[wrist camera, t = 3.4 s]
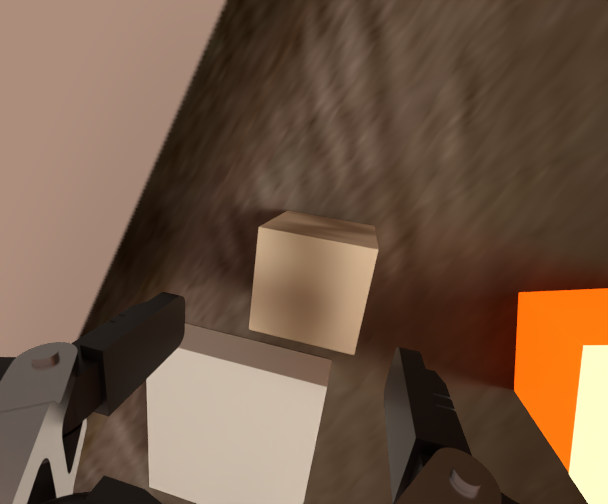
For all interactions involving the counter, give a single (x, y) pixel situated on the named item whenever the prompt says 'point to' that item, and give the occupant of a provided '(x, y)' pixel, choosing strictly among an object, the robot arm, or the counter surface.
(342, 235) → the birch block
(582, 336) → the orange juice
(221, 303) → the counter surface
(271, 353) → the cream board
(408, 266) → the counter surface
